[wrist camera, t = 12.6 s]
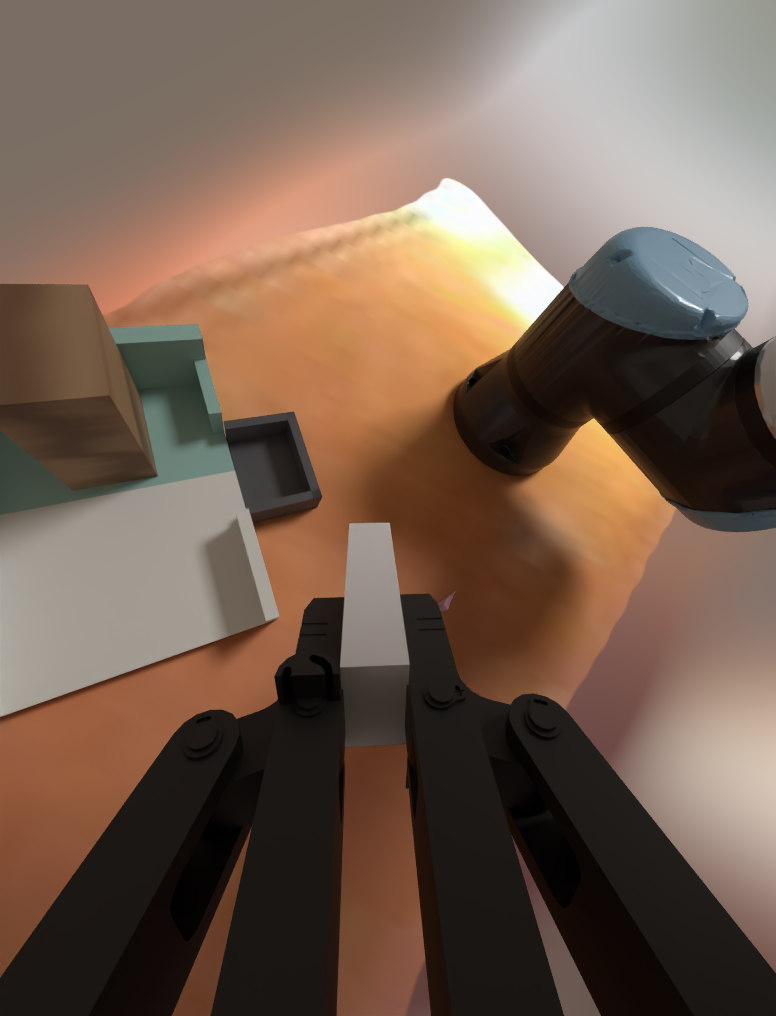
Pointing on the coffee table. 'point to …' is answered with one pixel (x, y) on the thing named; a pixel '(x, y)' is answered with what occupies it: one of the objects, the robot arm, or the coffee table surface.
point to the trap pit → (272, 465)
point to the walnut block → (69, 388)
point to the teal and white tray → (128, 542)
